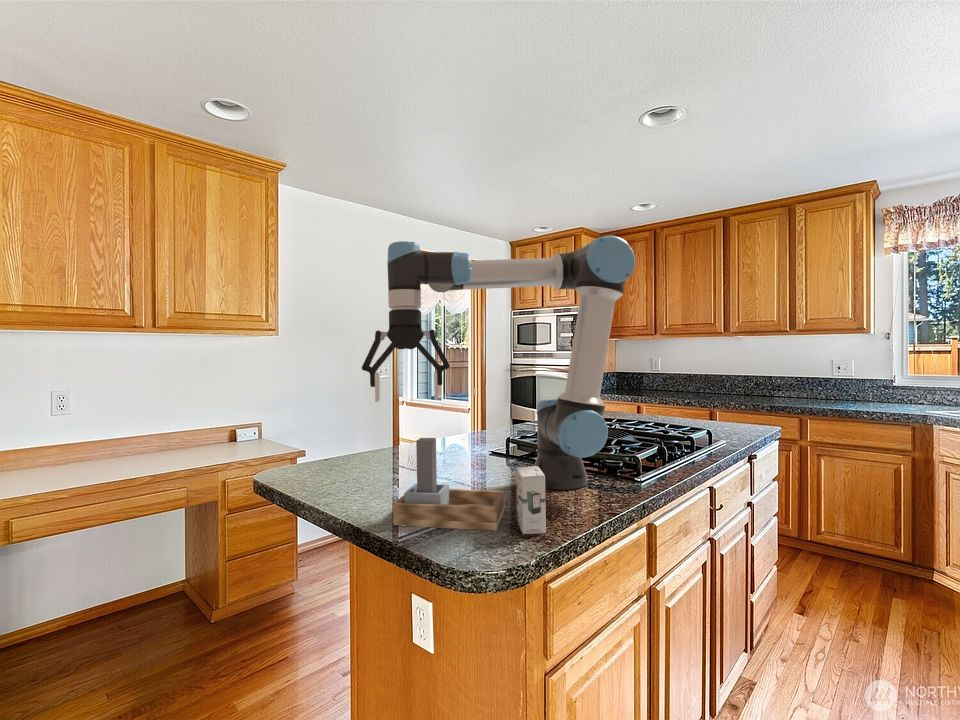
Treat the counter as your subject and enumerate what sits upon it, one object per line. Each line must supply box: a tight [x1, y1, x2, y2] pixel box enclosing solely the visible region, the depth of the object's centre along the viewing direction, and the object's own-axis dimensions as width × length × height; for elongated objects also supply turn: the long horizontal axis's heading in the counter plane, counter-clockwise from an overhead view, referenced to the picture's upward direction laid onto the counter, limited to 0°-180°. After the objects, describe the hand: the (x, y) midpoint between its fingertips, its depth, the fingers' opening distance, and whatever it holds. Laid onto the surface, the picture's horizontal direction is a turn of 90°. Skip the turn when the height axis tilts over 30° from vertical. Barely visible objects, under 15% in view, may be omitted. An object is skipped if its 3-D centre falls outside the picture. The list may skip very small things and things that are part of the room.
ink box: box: [515, 465, 547, 535], centre depth 104 cm, size 9×5×12 cm, turn 5°
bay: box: [392, 488, 505, 531], centre depth 111 cm, size 22×13×4 cm, turn 80°
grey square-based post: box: [403, 437, 450, 505], centre depth 112 cm, size 8×8×15 cm
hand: (407, 400), depth 118 cm, fingers open, 13 cm apart
